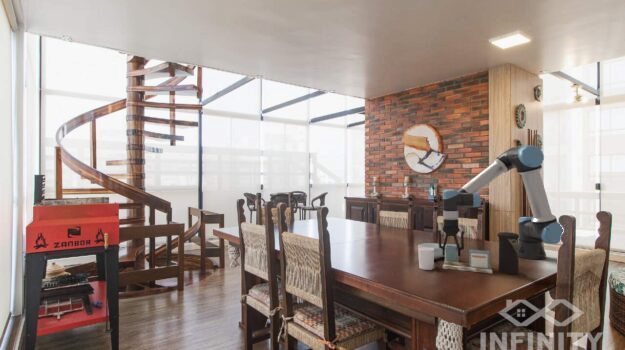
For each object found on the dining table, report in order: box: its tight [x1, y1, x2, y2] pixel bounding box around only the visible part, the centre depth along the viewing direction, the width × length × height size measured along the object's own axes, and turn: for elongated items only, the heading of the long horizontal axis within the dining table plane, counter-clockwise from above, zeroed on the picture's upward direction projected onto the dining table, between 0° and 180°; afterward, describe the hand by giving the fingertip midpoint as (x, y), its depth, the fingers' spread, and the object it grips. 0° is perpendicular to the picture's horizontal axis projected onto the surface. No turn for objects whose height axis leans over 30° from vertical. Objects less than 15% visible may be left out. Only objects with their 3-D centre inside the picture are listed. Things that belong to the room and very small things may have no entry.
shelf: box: [442, 260, 493, 274], centre depth 173 cm, size 22×10×2 cm, turn 65°
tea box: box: [446, 243, 458, 262], centre depth 187 cm, size 5×9×9 cm, turn 155°
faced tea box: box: [468, 248, 491, 269], centre depth 171 cm, size 5×9×9 cm, turn 65°
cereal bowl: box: [417, 242, 446, 260], centre depth 201 cm, size 17×17×7 cm
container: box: [497, 231, 520, 276], centre depth 166 cm, size 9×9×20 cm
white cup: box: [417, 247, 435, 271], centre depth 178 cm, size 8×8×10 cm
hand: (451, 261), depth 187 cm, fingers closed on tea box, 5 cm apart
